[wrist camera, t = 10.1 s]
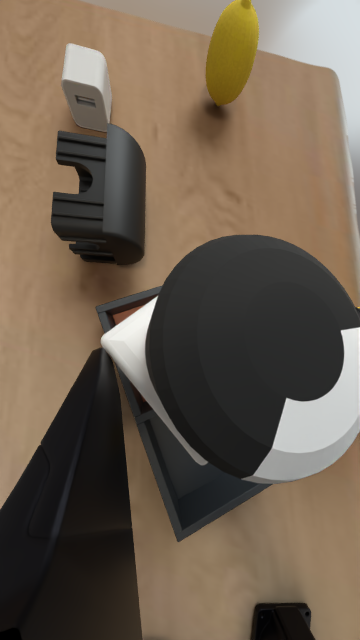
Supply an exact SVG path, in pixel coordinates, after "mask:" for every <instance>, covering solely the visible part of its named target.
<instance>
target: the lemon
mask: <svg viewBox="0 0 360 640" xmlns="http://www.w3.org/2000/svg"><path fill="white" fill-rule="evenodd" d="M258 38H259V26H258V18H257V15H256V11H255V9H254V7H253V5H252V4H251V0H235V1H233V2H232V3H231V4H229V5H228V6H227V7H226V8H225V10H224V11H223V12H222V14H221V16H220V18H219V20H218V22H217V24H216V27H215V29H214V32H213V35H212V38H211V41H210V45H209V49H208V55H207V62H206V83H207V89H208V92H209V94H210V96H211V98H212V99H213V100H214V101H215V104H216V105H217V106H220V105H225V104H228V103H230V102H232V101H233V100H235V99H236V98H237V97H238V95H239V94H240V93H241V91H242V90H243V88H244V86H245V84H246V82H247V80H248V78H249V75H250V73H251V70H252V66H253V63H254V59H255V55H256V51H257V45H258Z"/></svg>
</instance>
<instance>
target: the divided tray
mask: <svg viewBox="0 0 360 640" xmlns="http://www.w3.org/2000/svg"><path fill="white" fill-rule="evenodd" d="M162 286H163V285H162ZM162 286H159V287H156V288H153V289H150V290H147V291H143V292H140V293H137V294H134V295H131V296H128V297H124V298H121V299H118V300H115V301H112V302H109V303H106V304H102V305H99V306H96V310H97V313H98V316H99V319H100V322H101V325H102V327H103V330H104V333H107V332H108V331H110V330H111V329H112V328H114V327H115V326H117V325H118V324H119V323H121V322H122V321H124V320H125V319H126V318H128V317H129V316H131V315H132V314H133V313H135V312H136V311H138V310H139V309H140V308H142V307H143V306H145V305H146V304H147V303H149V302H150V301H151V300H153V299H154V298H156V297H157V296H158V294H159V292H160V290H161V288H162ZM114 362H115V361H114ZM115 364H116V363H115ZM116 367H117V370H118V373H119V376H120V379H121V382H122V384H123V387H124V390H125V393H126V396H127V399H128V401H129V404H130V407H131V410H132V413H133V416H134V419H135V421H136V424H137V427H138V430H139V433H140V436H141V439H142V442H143V444H144V447H145V450H146V453H147V456H148V459H149V462H150V464H151V467H152V470H153V473H154V476H155V479H156V481H157V484H158V487H159V490H160V493H161V496H162V499H163V501H164V504H165V507H166V510H167V513H168V516H169V518H170V521H171V524H172V527H173V530H174V533H175V535H176V538H177V541H178V542H180V541H181V540H183V539H184V538H186V537H188V536H189V535H191V534H193V533H194V532H196V531H197V530H199V529H201V528H202V527H204V526H206V525H207V524H209V523H210V522H212V521H214V520H215V519H217V518H219V517H220V516H222V515H224V514H225V513H227V512H228V511H230V510H232V509H233V508H235V507H237V506H238V505H240V504H241V503H243V502H245V501H246V500H248V499H250V498H251V497H253V496H254V495H256V494H258V493H259V492H261V491H263V490H264V489H266V488H267V487H269V486H271V485H272V484H264V483H255V482H251V481H246V480H242V479H239V478H237V477H234V476H232V475H230V474H227V473H225V472H223V471H221V470H220V469H218V468H217V467H215V466H213V465H212V464H210V463H209V462H208V463H207V464H205V465H200V464H198V463H197V462H195V460H194V459H193V458H192V457H191V455H190V454H189V453H188V452H187V450H186V449H185V448H184V447H183V445H182V444H181V443H180V442H179V441H178V439H177V438H176V437H175V436H174V434H173V433H172V432H171V431H170V429H169V428H168V427H167V426H166V424H165V423H164V422H163V421H162V419H161V418H160V417H159V416H158V415H157V413H156V412H155V411H154V410H153V408H152V407H151V406H150V405H149V403H148V402H147V401H146V400H145V398H144V397H143V396H142V395H141V393H140V392H139V391H138V390H137V389H136V387H135V386H134V385H133V384H132V382H131V381H130V380H129V379H128V377H127V376H126V375H125V374H124V372H123V371H122V370H121V369H120V367H119V366H118V365H117V364H116Z"/></svg>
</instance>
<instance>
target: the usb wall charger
mask: <svg viewBox="0 0 360 640" xmlns="http://www.w3.org/2000/svg"><path fill="white" fill-rule="evenodd" d="M61 85H62V89H63V92H64V94H65V97H66V100H67V103H68V105H69V108H70V111H71V114H72V117H73V119H74V121H75V122H76V124H77V125H79V126H80V127H83V128H88V129H93V130H98V131H103V132H107V123H109V124H110V113H111V103H112V93H111V87H110V81H109V75H108V69H107V63H106V60H105V58H104V56H103V55H102V54H101V53H100V52H99V51H96V50H93V49H89V48H86V47H82V46H78V45H75V44H71V43H69V44H67V46H66V52H65V60H64V67H63V75H62V82H61Z"/></svg>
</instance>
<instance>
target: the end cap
mask: <svg viewBox="0 0 360 640" xmlns="http://www.w3.org/2000/svg"><path fill="white" fill-rule="evenodd" d="M56 160H57V162H58V164H59V165H66V166H73V167H75V169H76V171H77V173H78V175H79V179H80V182H79V194H68V193H59V192H53V202H52V215H51V225H52V228H53V231H54V232H55V233H56V234H57V235H58V237H59V238H60V239H61V240H63V241H76V244H69V248H70V249H71V251H72V252H73V253H74V254H80V257H81V258H82V259H83V260H84V261H87V262H102V263H117V265H127V264H133V263H136V262H138V261H140V260H141V259H142V258H143V256H144V246H145V192H146V162H145V157H144V154H143V151H142V150H141V148H140V146H139V144H138V143H137V142H136V140H135V139H134V138H133V137H132V136H131V135H130V134H129V133H128V132H126V131H125V130H123V129H122V128H120V127H118V126H116V125H113V124H109V123H107V139H106V138H100V137H94V136H88V135H82V134H76V133H70V132H64V131H58V137H57V150H56Z"/></svg>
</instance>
